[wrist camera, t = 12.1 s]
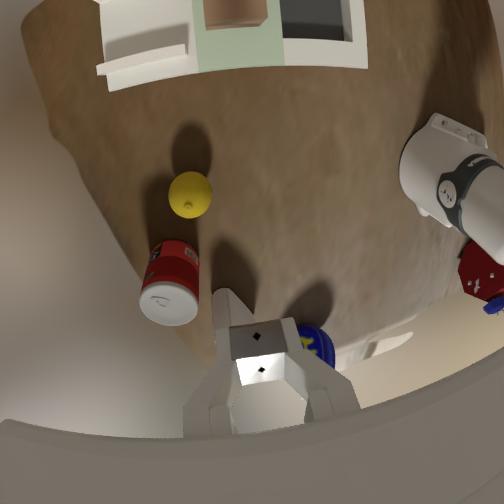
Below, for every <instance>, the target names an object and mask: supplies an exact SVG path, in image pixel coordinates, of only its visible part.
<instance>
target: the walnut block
mask: <svg viewBox="0 0 504 504" xmlns="http://www.w3.org/2000/svg"><path fill="white" fill-rule="evenodd" d="M203 8H204V19H205V27H206V31H209V30H218V29H228V28H242V27H259V26H260V25H261V24H262V23H263V22H264V21H265V20H266V19H267V18H268V12H267V1H266V0H203Z"/></svg>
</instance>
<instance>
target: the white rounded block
mask: <svg viewBox="0 0 504 504" xmlns="http://www.w3.org/2000/svg"><path fill="white" fill-rule="evenodd" d="M211 307H212V328H213V340H214V342H215V344H216V336H215V330H216V328H220V327H229V326H237V325H246V324H254V323H255V319H254V316H253V314H252V313H251V311H250V310H249V309H248V308H247V307H246V305H245V304H244V303H243V302H242V301H241V300H240V299H239V298H238V297H237V296H236V295H235V293H234V292H233V291H231V290H230V289H229V288H227V289H226V288H220V289H218V290H216V291H215V292H214V294H213V296H212V297H211Z"/></svg>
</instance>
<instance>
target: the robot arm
mask: <svg viewBox="0 0 504 504" xmlns="http://www.w3.org/2000/svg"><path fill="white" fill-rule="evenodd" d="M442 121H443V123H442ZM399 176H400V182H401V186H402V188H403V191H404V192H405V194H406V195H407V196H408V197H409V198H410V199H411V200H412V201H413V202H414V203H415V204H416V206H417V209H418V211H419V213H420V214H421V215H423V216H428V215H431V216H433V217H434V218H435V219H437V220H438V221H440V222H441V223H443V224H444V225H445V226H447V227H451V226H454V227H455V228H456V229H457V230H458V231H459V232H460V233H462V234H464V235H465V236H466V237H468V238H472V239H473V240H474V241H475V242H476V243H477V244H479V245H480V246H481V247H482V248H483V249H484V250H485V251H486V252H487V253H488V254H489V255H490V256H491V257H492V258H493V259H494V260H495V261H496V262H497V263H499V264H501V265H504V168H503V167H502V166H501V165H500V163H499V162H498V160H497V156H496V154H495V152H493V151H491V150H490V149H488V148H487V141H486V137H485V136H484V135H483V134H481V133H479V132H477V131H475V130H473V129H471V128H469V127H467V126H465V125H463V124H461V123H459V122H457V121H455V120H453V119H450V118H448V117H446V116H444V115H441V114H439V113H434V114H433V115H432V116H431V117H430V119H429V120H428V122H427V124H426V125H425V126H424V127H423V128H422V129H420V130H419V131H418V132H416V133H415V134H414V135H413V136H412V138H411V139H410V140H409V142H408V143H407V145H406V147H405V149H404V151H403V154H402V157H401V161H400V168H399ZM215 336H216V355H217V363H213V364H212V366H211V367H210V369H209V370H208V372H207V373H206V375H205V376H204V378H203V379H202V381H201V382H200V384H199V385H198V387H197V388H196V390H195V391H194V392H193V394H192V395H191V397H190V398H189V400H188V401H187V403H186V404H185V406H184V407H183V432H184V433H183V438H168V439H167V438H164V439H163V438H162V439H161V438H155V439H154V438H128V437H112V436H102V435H92V434H84V433H76V432H70V431H63V430H57V429H52V428H47V427H42V426H37V425H32V424H28V423H24V422H20V421H16V420H12V419H5V420H4V421H2V422H1V423H0V504H504V347H502V348H501V349H499V350H497V351H496V352H494V353H492V354H491V355H489V356H487V357H485V358H483V359H482V360H480V361H478V362H476V363H474V364H472V365H470V366H468V367H466V368H464V369H462V370H460V371H458V372H456V373H454V374H452V375H450V376H448V377H445V378H443V379H441V380H439V381H436V382H434V383H432V384H430V385H427V386H425V387H423V388H420V389H418V390H415V391H413V392H410V393H407V394H405V395H402V396H399V397H397V398H394V399H391V400H388V401H386V402H382V403H380V404H377V405H373V406H370V407H367V408H364V409H361V408H360V405H359V403H358V400H357V397H356V394H355V392H354V389H353V386H352V384H351V381H350V380H348V379H347V378H345V377H344V376H343V375H341V374H340V373H339V372H337V371H336V370H335V369H333V368H332V367H331V366H329V365H328V364H327V363H325V362H324V361H323V360H321V359H320V358H319V357H317V356H316V355H315V354H313V353H312V352H311V351H309V350H308V349H303V347H302V343H301V340H300V337H299V334H298V331H297V327H296V324H295V321H294V318H293V317H289V318H283V319H280V320H279V319H276V320H270V321H264V322H258V323H254V324H246V325H237V326H229V327H220V328H216V330H215ZM279 379H285V380H286V382H287V383H289V385H290V386H291V387H292V388H294V390H295V391H296V392H297V393H299V394H300V395H301V396H302V397H303V398H304V399H305V400H306V401H307V406H306V411H305V416H304V423H305V424H300V425H295V426H290V427H284V428H279V429H273V430H267V431H260V432H252V433H244V434H238V430H237V428H236V425H235V422H234V420H233V417H232V414H231V411H230V410H231V408H232V406H233V404H234V402H235V400H236V398H237V396H238V394H239V392H240V390H241V387H242V385H246V384H252V383H258V382H265V381H272V380H279Z"/></svg>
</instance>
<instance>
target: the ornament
mask: <svg viewBox="0 0 504 504" xmlns="http://www.w3.org/2000/svg"><path fill="white" fill-rule="evenodd" d="M297 331H298V334H299V337H300V340H301V343H302V347H303V349H308V350H309V351H311V352H312V353H313V354H315V355H316V356H317V357H319V358H320V359H321V360H323V361H324V362H325V363H327V364H328V365H329V366H331V367H332V368H333V369H335V350H334V346H333V343H332V341H331V339H330V338H329V336H328V335H327V334H326V333H325V332H324V331H323V330H322V329H320V328H318V327H315V326H312V325H303V326H300V327H298V328H297Z"/></svg>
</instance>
